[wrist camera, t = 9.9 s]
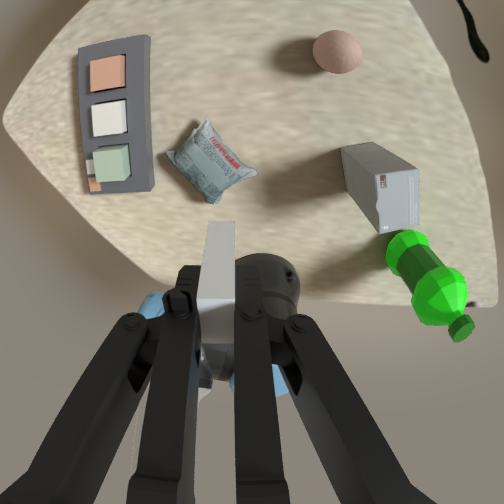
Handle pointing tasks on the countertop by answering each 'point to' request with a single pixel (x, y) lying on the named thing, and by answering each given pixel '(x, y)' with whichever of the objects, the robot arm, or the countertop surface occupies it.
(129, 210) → the countertop surface
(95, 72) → the terracotta key
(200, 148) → the packaged food
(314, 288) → the countertop surface
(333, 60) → the egg
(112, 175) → the sage key
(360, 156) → the skincare box
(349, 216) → the countertop surface
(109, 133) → the cream key
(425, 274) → the plastic bottle
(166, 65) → the countertop surface
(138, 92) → the keypad board
